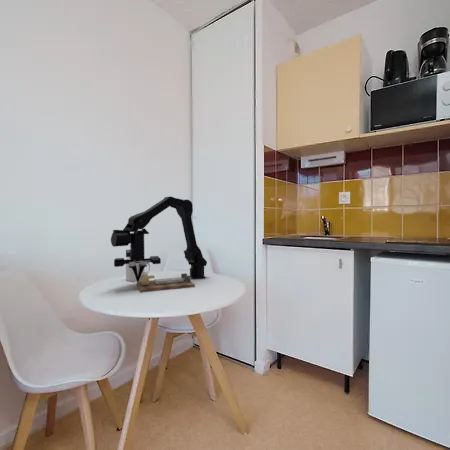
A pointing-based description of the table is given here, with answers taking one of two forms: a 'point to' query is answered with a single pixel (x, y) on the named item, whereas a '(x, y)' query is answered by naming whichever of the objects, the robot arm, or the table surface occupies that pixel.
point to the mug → (130, 273)
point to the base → (166, 285)
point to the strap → (169, 280)
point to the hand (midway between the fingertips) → (137, 281)
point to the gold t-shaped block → (145, 279)
